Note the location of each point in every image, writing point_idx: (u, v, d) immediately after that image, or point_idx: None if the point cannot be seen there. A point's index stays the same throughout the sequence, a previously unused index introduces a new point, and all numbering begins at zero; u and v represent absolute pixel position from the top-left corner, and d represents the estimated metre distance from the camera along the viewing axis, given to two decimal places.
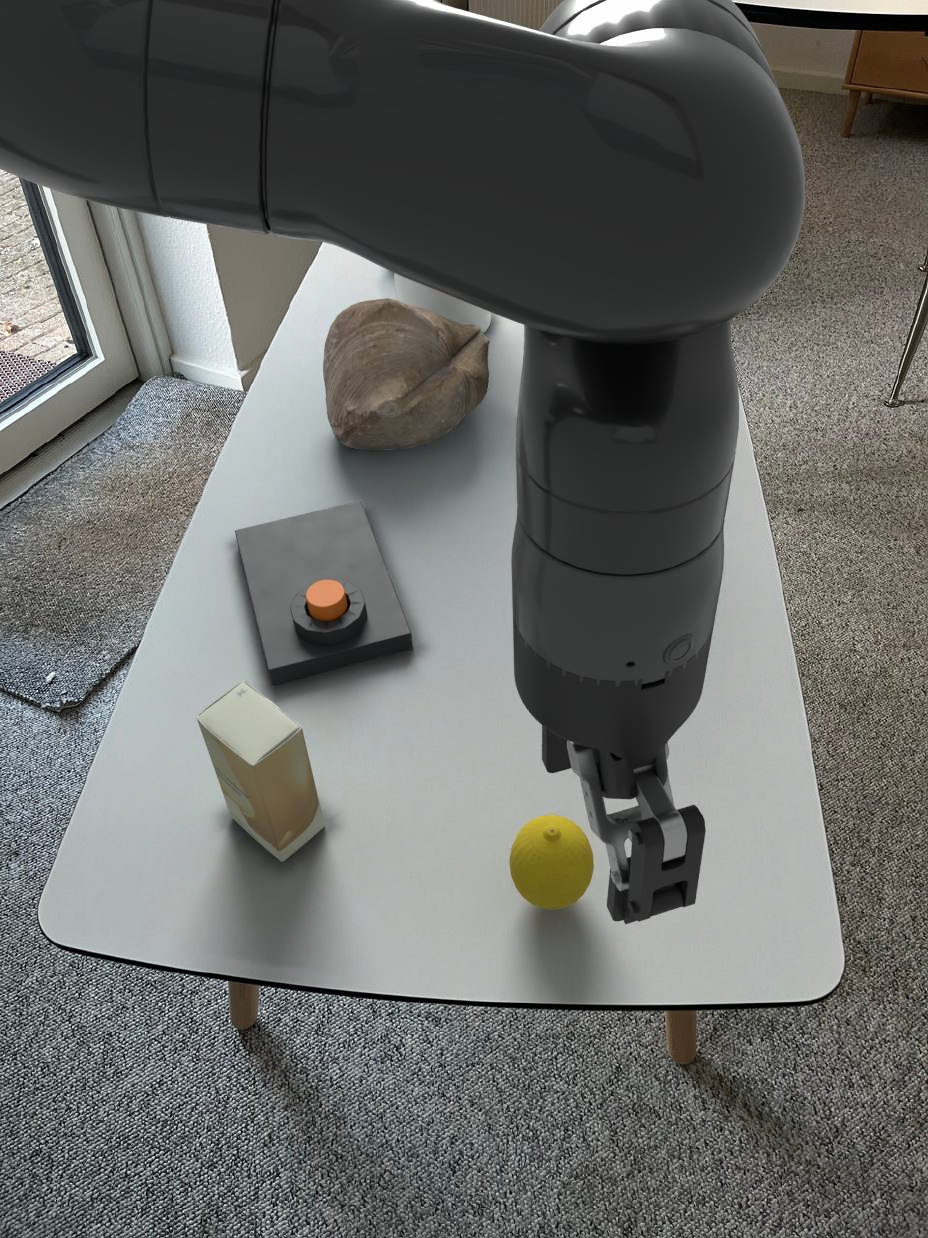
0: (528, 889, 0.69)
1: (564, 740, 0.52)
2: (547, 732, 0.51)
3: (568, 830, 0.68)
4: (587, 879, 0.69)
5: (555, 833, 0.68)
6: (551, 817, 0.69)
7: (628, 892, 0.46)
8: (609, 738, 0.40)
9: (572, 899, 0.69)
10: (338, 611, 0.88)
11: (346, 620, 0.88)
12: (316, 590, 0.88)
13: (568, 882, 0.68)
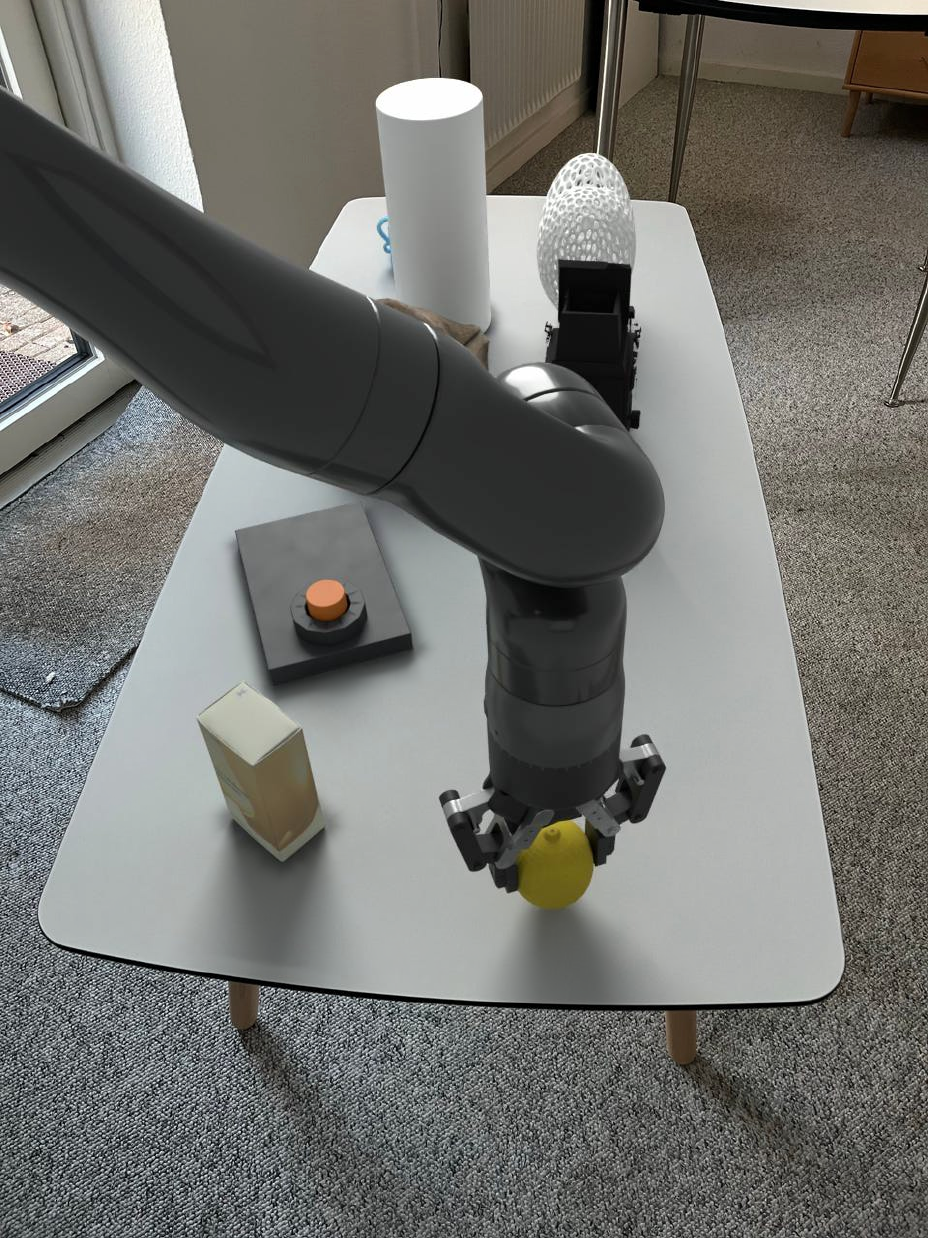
0: (528, 889, 0.69)
1: None
2: (516, 864, 0.67)
3: (568, 830, 0.68)
4: (587, 879, 0.69)
5: (555, 833, 0.68)
6: None
7: None
8: None
9: (572, 899, 0.69)
10: (338, 611, 0.88)
11: (346, 620, 0.88)
12: (316, 590, 0.88)
13: (568, 881, 0.68)
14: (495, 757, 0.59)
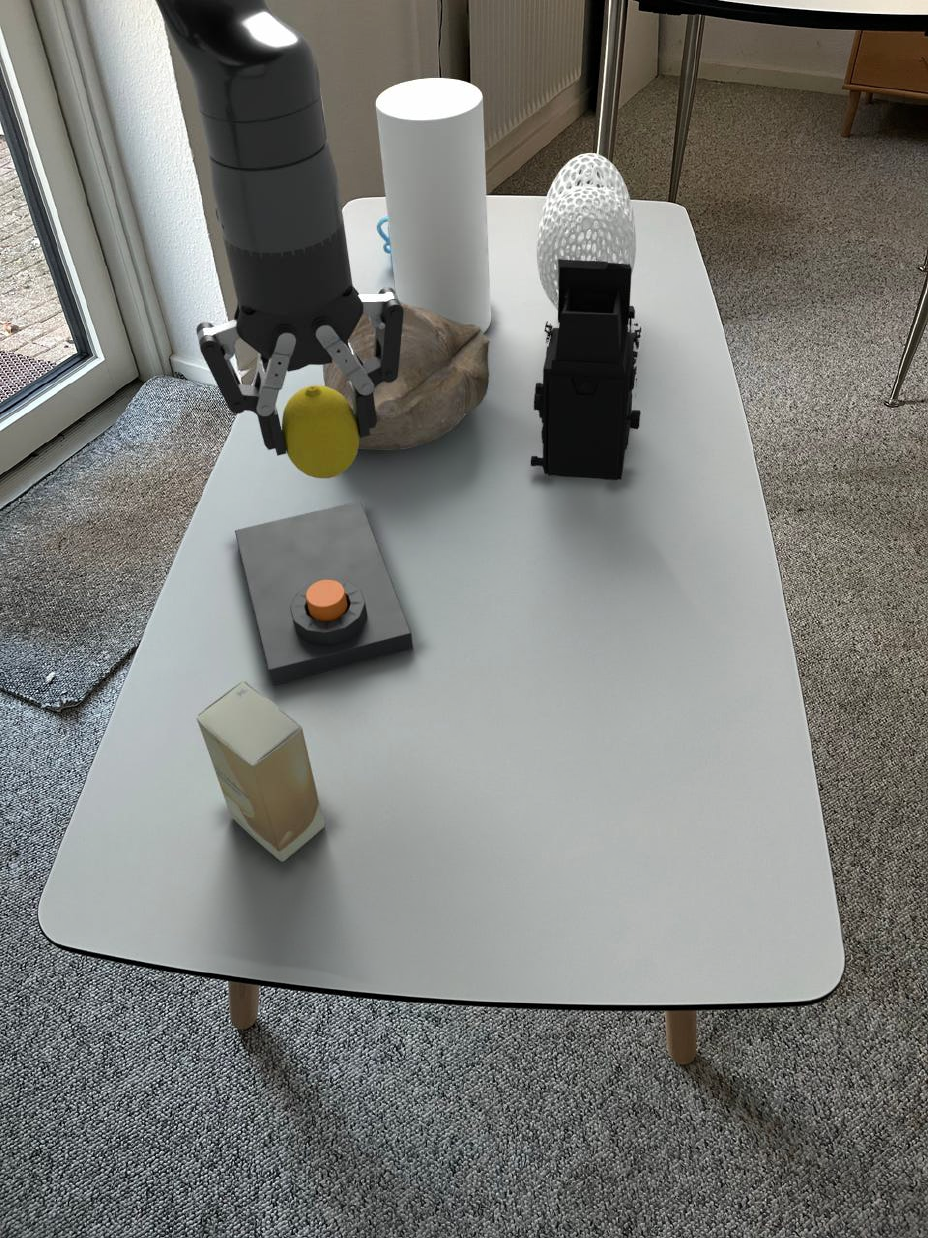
0: (293, 447, 0.76)
1: None
2: None
3: (329, 391, 0.75)
4: (348, 440, 0.76)
5: (314, 389, 0.75)
6: (317, 385, 0.76)
7: (369, 396, 0.76)
8: (348, 272, 0.68)
9: (335, 459, 0.76)
10: (338, 611, 0.88)
11: (346, 620, 0.88)
12: (316, 590, 0.88)
13: (327, 434, 0.75)
14: (230, 264, 0.66)
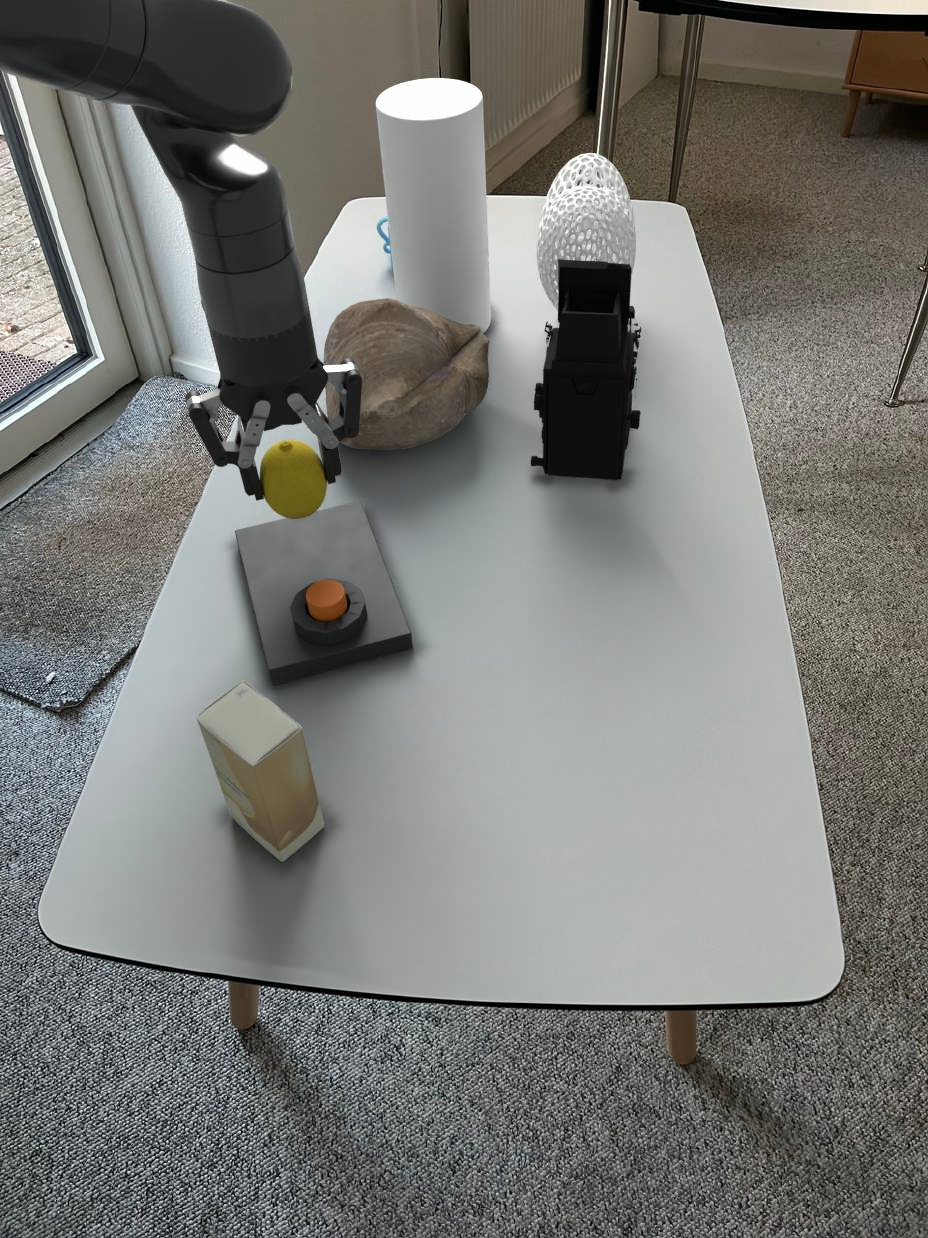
0: (269, 493, 0.88)
1: None
2: (256, 467, 0.87)
3: (300, 445, 0.88)
4: (317, 487, 0.89)
5: (287, 444, 0.87)
6: None
7: (335, 449, 0.88)
8: (314, 349, 0.81)
9: (305, 503, 0.89)
10: (338, 611, 0.88)
11: (346, 620, 0.88)
12: (316, 590, 0.88)
13: (298, 483, 0.87)
14: (214, 345, 0.79)
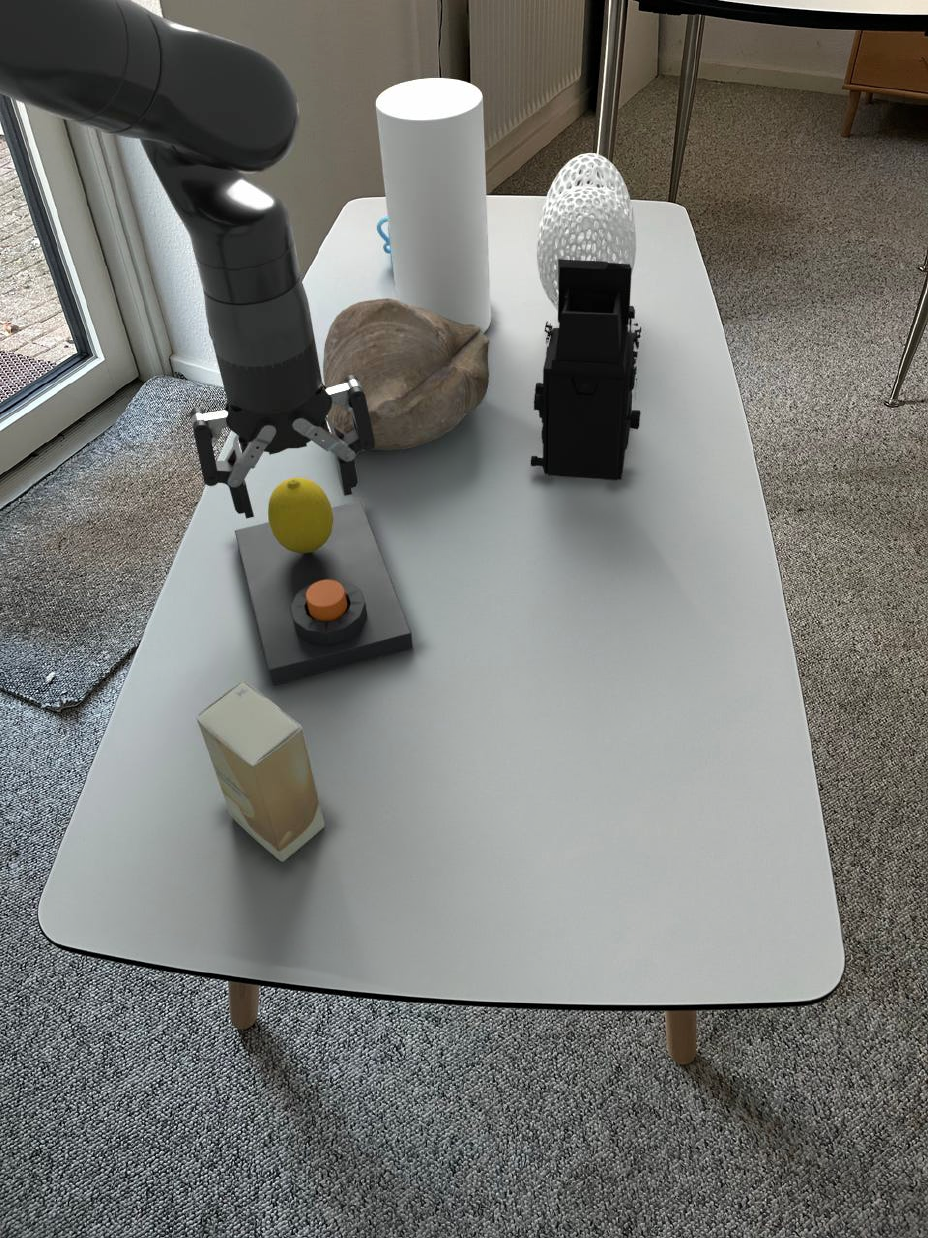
0: (278, 529, 0.91)
1: None
2: None
3: (307, 483, 0.91)
4: (323, 523, 0.91)
5: (295, 482, 0.90)
6: None
7: (351, 461, 0.90)
8: (319, 376, 0.82)
9: (313, 539, 0.92)
10: (338, 611, 0.88)
11: (346, 620, 0.88)
12: (316, 590, 0.88)
13: (306, 520, 0.90)
14: (221, 372, 0.80)
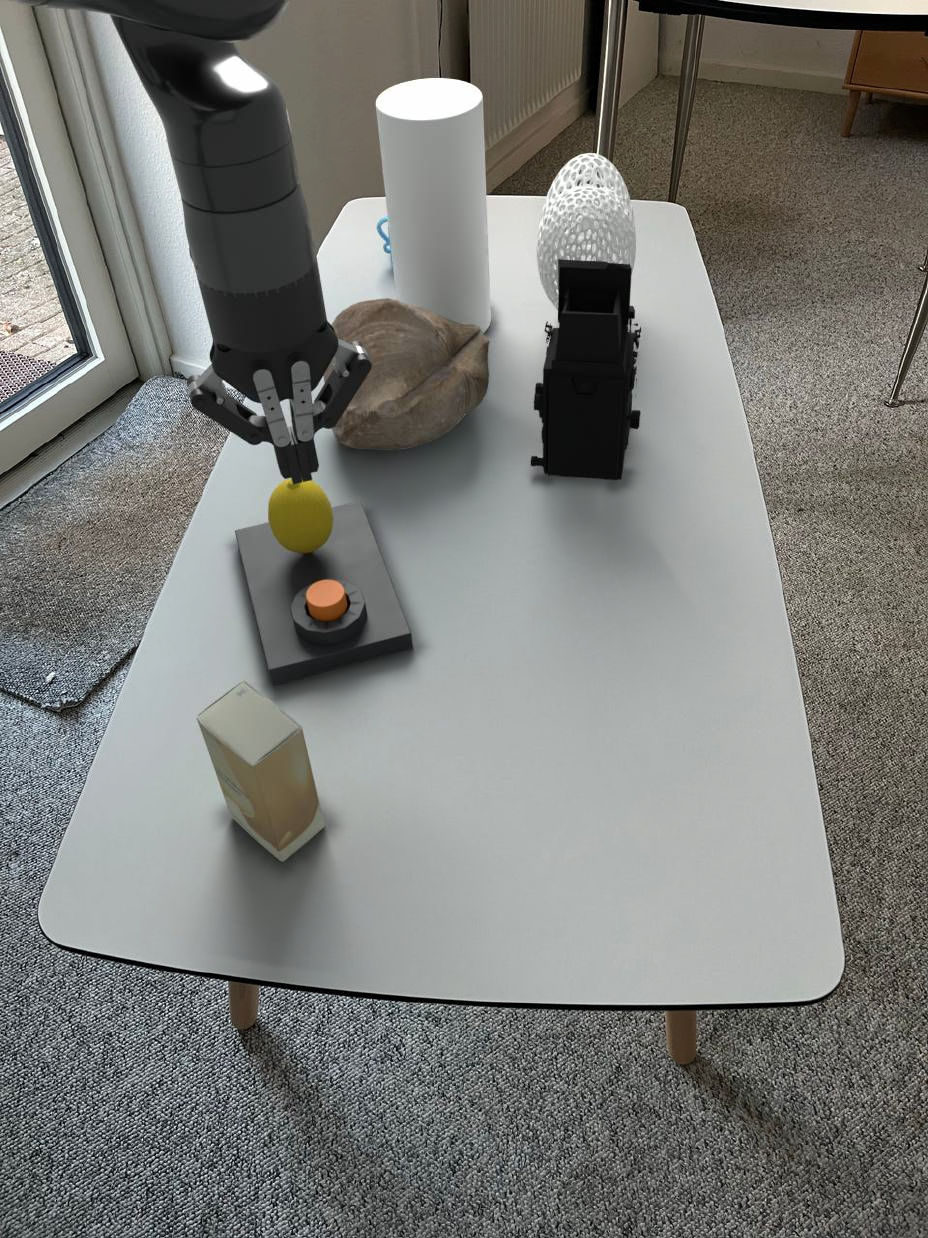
0: (278, 529, 0.91)
1: None
2: (294, 445, 0.76)
3: (307, 483, 0.91)
4: (323, 523, 0.91)
5: None
6: None
7: (310, 441, 0.76)
8: (323, 309, 0.69)
9: (312, 539, 0.92)
10: (338, 611, 0.88)
11: (346, 620, 0.88)
12: (316, 590, 0.88)
13: (306, 520, 0.90)
14: (204, 303, 0.67)
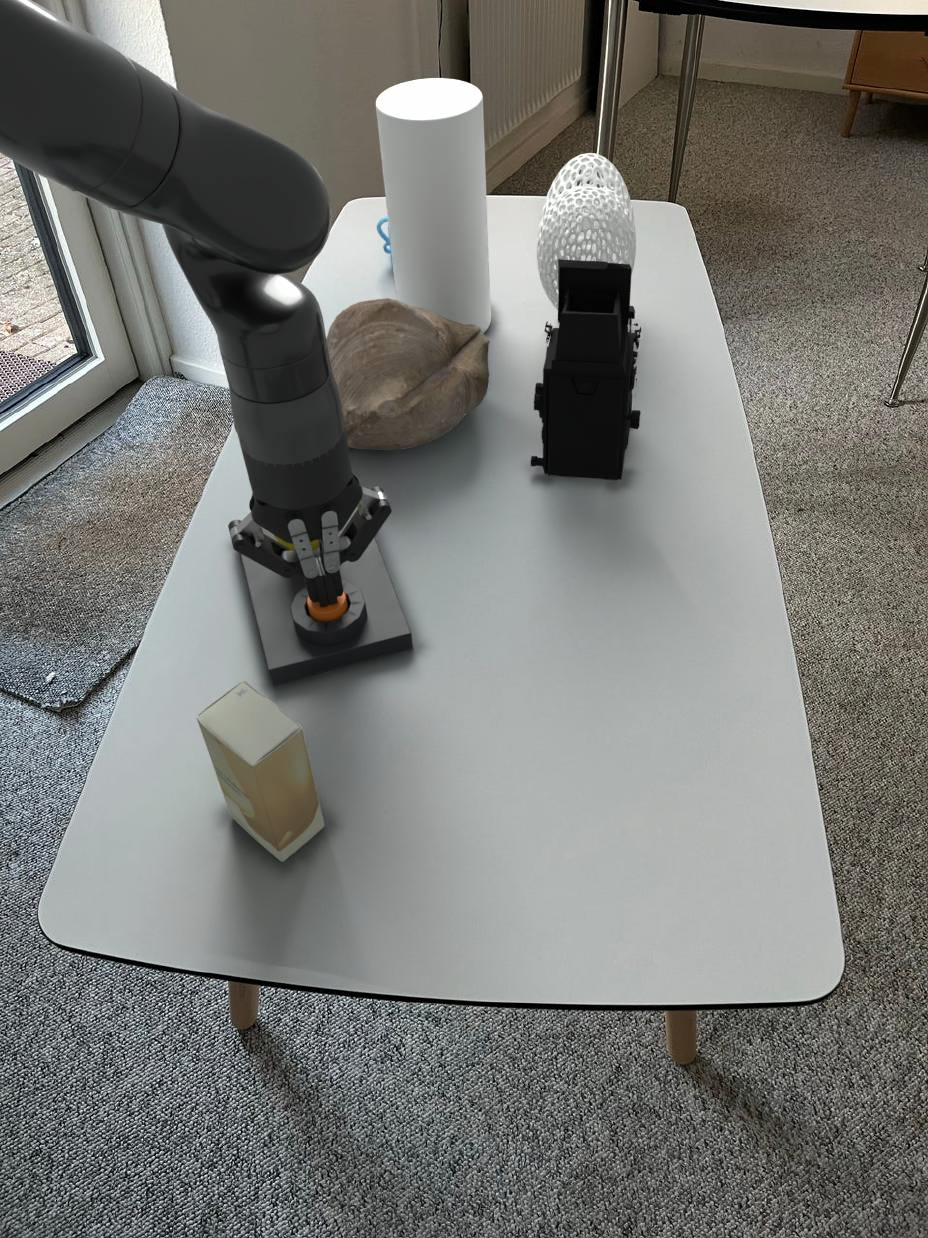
0: None
1: None
2: (322, 576, 0.85)
3: None
4: None
5: None
6: None
7: (336, 571, 0.86)
8: (350, 468, 0.78)
9: None
10: (340, 616, 0.88)
11: (346, 620, 0.88)
12: None
13: None
14: (246, 467, 0.76)
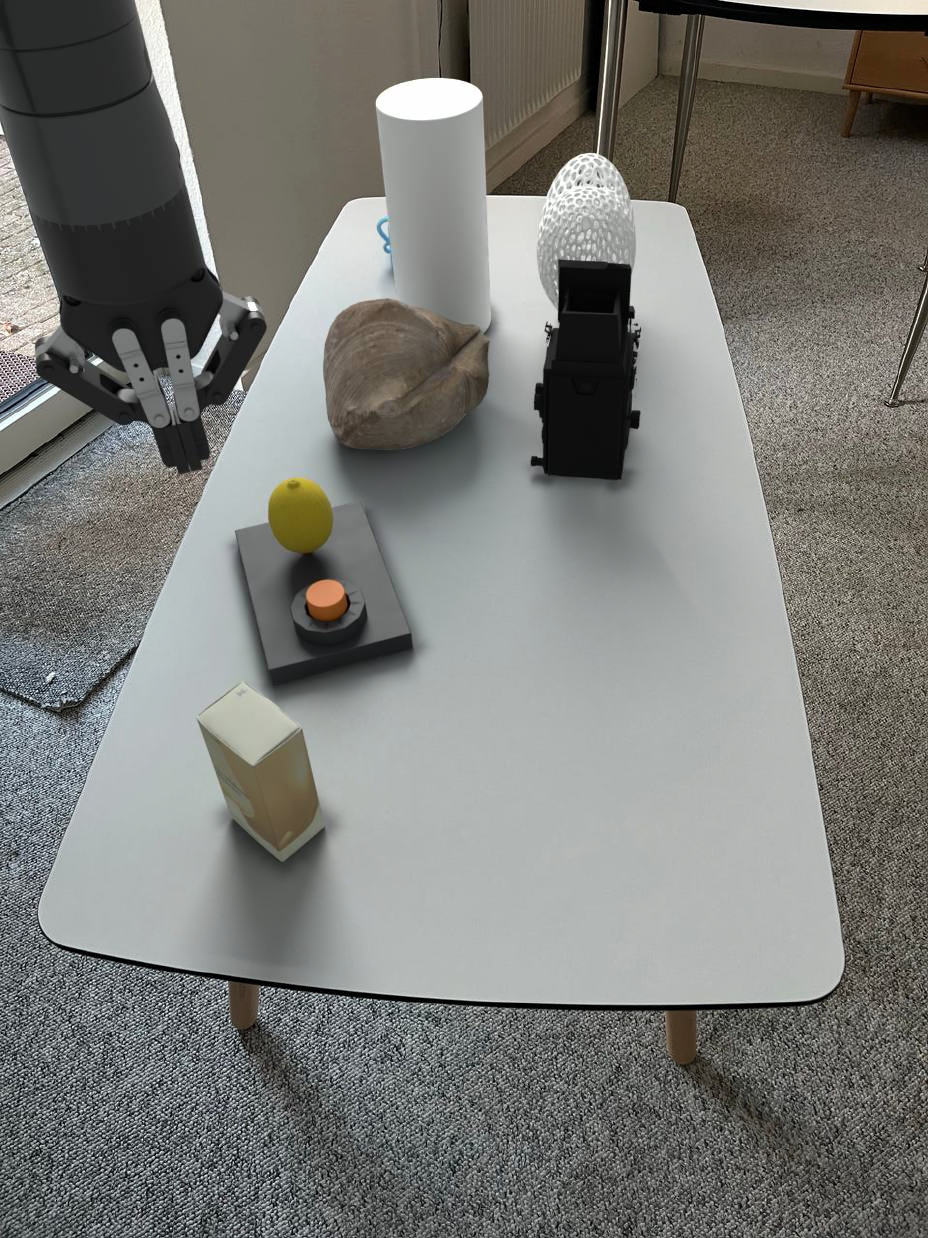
0: (278, 529, 0.91)
1: (179, 432, 0.63)
2: (176, 426, 0.61)
3: (307, 483, 0.91)
4: (323, 523, 0.91)
5: (295, 482, 0.90)
6: None
7: (196, 421, 0.62)
8: (197, 252, 0.54)
9: (312, 539, 0.92)
10: (338, 611, 0.88)
11: (346, 620, 0.88)
12: (316, 590, 0.88)
13: (306, 520, 0.90)
14: (42, 241, 0.52)
